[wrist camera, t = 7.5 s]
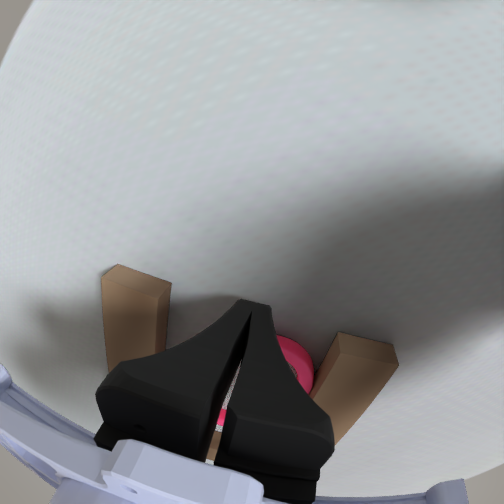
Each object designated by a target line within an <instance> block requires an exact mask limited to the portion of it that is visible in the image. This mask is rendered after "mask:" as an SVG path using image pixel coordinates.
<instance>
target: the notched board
mask: <svg viewBox="0 0 504 504" xmlns="http://www.w3.org/2000/svg"><path fill="white" fill-rule="evenodd" d="M171 284H172V283H171V282H168V281H165V280H162V279H159V278H156V277H153V276H150V275H147V274H144V273H142V272H139V271H136V270H133V269H130V268H128V267H125V266H122V265H119V264H117V265H116V266H115V267H113V268H112V269H111V270H110V271H108V272H107V273H106V274H105V275H103V276H102V277H101V287H102V309H103V324H104V336H105V346H106V355H107V363H108V370H109V373H110V372H111V371H112V369H113V368H115V367H116V366H117V365H118V363H119V362H120V361H126V360H132V359H137V358H142V357H146V356H150V355H153V354H156V353H159V352H162V351H165V345H166V333H167V322H168V311H169V302H170V293H171ZM398 366H399V363H398V360H397V357H396V353H395V350H394V347H393V345H391V344H387V343H382V342H378V341H374V340H369V339H365V338H361V337H357V336H353V335H349V334H345V333H341V332H338V333H337V335H336V337H335V339H334V341H333V343H332V345H331V347H330V349H329V351H328V353H327V354H326V356H325V358H324V360H323V362H322V364H321V366H320V367H319V369H318V371H317V373H316V375H315V376H314V380H313V386H312V389H311V391H310V393H309V394H308V395H309V396H310V397H311V398H312V400H313V401H314V402H315V403H316V404H317V405H318V406H319V407H320V408H321V409H323V410H324V411H325V412H326V413H327V414H328V415H329V416H330V418H331V422H332V427H333V432H334V439H335V445H336V444H337V443H338V441H339V440H340V439H341V438H342V437H343V436H344V435H345V434H346V433H347V431H348V430H349V429H350V428H351V427H352V426H353V425H354V423H355V422H356V421H357V420H358V419H359V418H360V416H361V415H362V414H363V413H364V411H365V410H366V409H367V408H368V407H369V405H370V404H371V403H372V401H373V400H374V399H375V398H376V396H377V395H378V394H379V392H380V391H381V390H382V388H383V387H384V386H385V384H386V383H387V382H388V380H389V379H390V378H391V376H392V375H393V373H394V372H395V370H396V369H397V368H398ZM221 434H222V433H220V432H217V431H214V434H213V438H212V441H211V444H210V448H209V451H208V454H207V458H206V459H209V460H213V461H214V460H215V456H216V453H217V450H218V447H219V443H220V438H221Z"/></svg>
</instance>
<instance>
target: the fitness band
mask: <svg viewBox="0 0 504 504" xmlns="http://www.w3.org/2000/svg"><path fill="white" fill-rule="evenodd" d="M276 336H277V339H278V342H279V345H280V347H281V350H282V352H283V354H284V357H285V359H286V361H287V362H289V363H290V364H291V365H292V366H293V367H294V368H295V370H296V372H297V375H298V376H297V380H298V381H299V383H300V384H301V386H302V387H303V388H304V390H305V391H306V393H307V394H309V393H310V391H311V389H312V386H313V380H314V367H313V362H312V359H311V357H310V355H309V354H308V353H307V351H306V350H305V349H304V348H303V347H302V346H301V345H300V344H298V343H297V342H295V341H293V340H291V339H289V338H286V337H283V336H279V335H276ZM225 415H226V410H224V409H222V408H221V412H220V415H219V418H218V421H217V424H218V425H221V426H223V424H224V419H225Z"/></svg>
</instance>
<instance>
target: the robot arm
mask: <svg viewBox="0 0 504 504" xmlns="http://www.w3.org/2000/svg"><path fill="white" fill-rule="evenodd" d="M241 359H242V360H241ZM240 362H241V365H240V371H239V374H238V377H237V380H236V383H235V386H234V389H233V392H232V394H231V397H230V400H229V403H228V405H227V410H226V415H225V419H224V424H223V429H222V434H221V438H220V443H219V447H218V450H217V453H216V456H215V460H214V465H211V464H207V463H205V461H206V458H207V454H208V451H209V448H210V444H211V441H212V438H213V434H214V431H215V428H216V425H217V421H218V418H219V415H220V412H221V408H222V405H223V403H224V400H225V397H226V395H227V393H228V390H229V388H230V385H231V383H232V381H233V378H234V376H235V374H236V371H237V369H238V366H239V364H240ZM95 395H96V401H97V404H98V407H99V410H100V413H101V415H102V418H103V421H104V422H103V424H102V425H101V427H100V429H99V430H98V432H97V433H96V434H94V433H92V432H90V431H88V430H86V429H85V428H83V427H81V426H79V425H77V424H75V423H74V422H72V421H70V420H68V419H67V418H65V417H63V416H62V415H60V414H58V413H57V412H55V411H54V410H52V409H50V408H49V407H47V406H46V405H44V404H43V403H41V402H40V401H38V400H37V399H35V398H34V397H32V396H31V395H30V394H28V393H27V392H25V391H24V390H23V389H21V388H20V387H18V386H17V385H16V384H14V383H13V382H12V379H11V376H10V374H9V373H8V371H7V370H6V368H5V367H4V366H3V365H2V364H0V444H1V445H2V446H3V447H4V448H5V449H6V450H8V451H9V452H10V453H11V454H12V455H13V456H14V457H16V458H17V459H18V460H19V461H20V462H22V463H23V464H24V465H25V466H26V467H28V468H29V469H30V470H31V471H33V472H34V473H35V474H37V475H38V476H39V477H41V478H42V479H43V480H44V481H46V482H47V483H49V484H50V485H52V486H53V487H54V488H56V489H57V490H56V492H55V494H54V495H53V497H52V499H51V500H50V502H49V504H469V502H468V497H467V492H466V487H465V483H464V479H462V478H461V479H456V480H451V481H445V482H441V483H438V484H436V485H434V486H433V487H431V488H430V489H429V490H427V492H424V493H416V494H407V495H397V496H382V497H325V496H316V482H317V481H318V480H319V478H320V468H321V467H322V466H323V465H324V464H325V463H326V462H327V460H328V459H329V458H330V457H331V456H332V454H333V452H334V447H335V439H334V432H333V427H332V422H331V418H330V416H329V415H328V414H327V413H326V412H325V411H324V410H323V409H321V408H320V407H319V406H318V405H317V404H316V403H315V402H314V401H313V400H312V398H311V397H310V396H309V395H308V394H307V393H306V391H305V390H304V388H303V387H302V386H301V384H300V383H299V381H298V380H297V379H296V377H295V375H294V374H293V372H292V370H291V369H290V367H289V365H288V363H287V361H286V359H285V357H284V354H283V352H282V350H281V347H280V345H279V342H278V339H277V336H276V332H275V329H274V325H273V320H272V312H271V307H270V306H268V305H264V304H260V303H256V302H251V301H247V300H243V299H240V300H238V301H237V302H236V303H235V304H234V306H233V307H232V308H231V309H230V310H228V311H227V312H226V313H225V314H224V315H223V316H222V317H221V318H219V319H218V320H217V321H216V322H215V323H213V324H212V325H211V326H209V327H208V328H206V329H205V330H204V331H202V332H201V333H199V334H198V335H196V336H194V337H193V338H191V339H189V340H187V341H185V342H183V343H181V344H179V345H177V346H175V347H173V348H170V349H168V350H165V351H162V352H159V353H156V354H153V355H150V356H146V357H142V358H137V359H132V360H126V361H120V362H119V363H118V365H117V366H116V367H115V368H113V369H112V371H111V372H110V373H109V374H108V375H107V377H106V378H105V379H104V381H103V382H102V383H101V385H100V386H99V387H98V389H97V391H96V394H95Z"/></svg>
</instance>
